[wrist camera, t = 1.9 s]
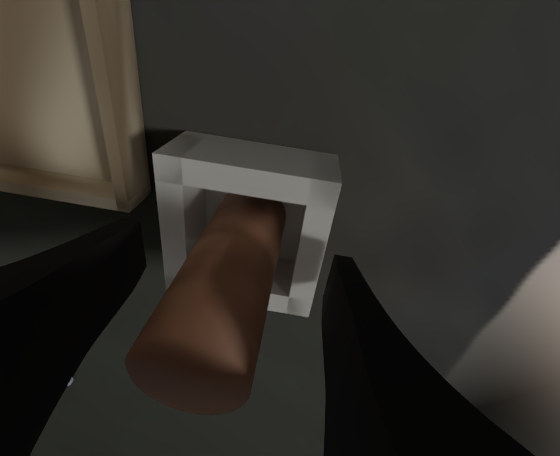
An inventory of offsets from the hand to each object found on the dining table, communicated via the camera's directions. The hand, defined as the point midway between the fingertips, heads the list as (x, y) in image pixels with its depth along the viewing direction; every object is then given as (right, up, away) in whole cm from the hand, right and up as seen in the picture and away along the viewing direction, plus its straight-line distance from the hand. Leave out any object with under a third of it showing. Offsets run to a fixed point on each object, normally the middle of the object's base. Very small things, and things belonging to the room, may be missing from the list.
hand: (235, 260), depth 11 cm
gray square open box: (0, +2, +3) cm, 4 cm away
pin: (0, +2, +3) cm, 3 cm away
